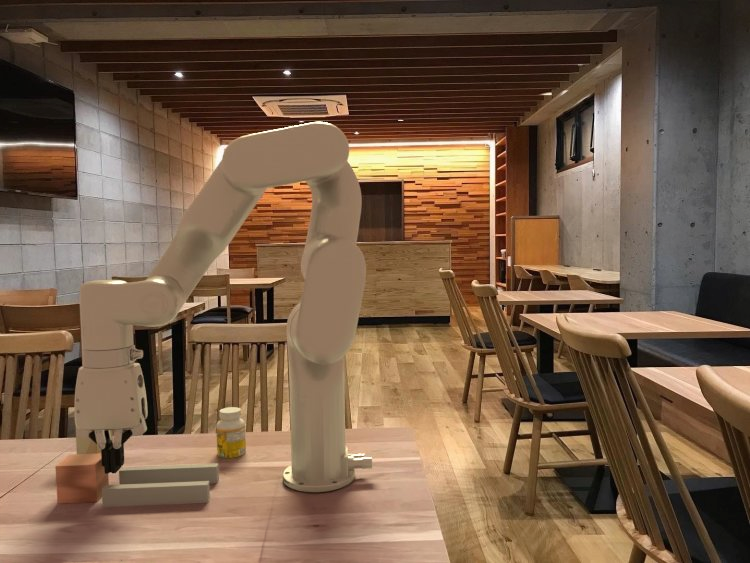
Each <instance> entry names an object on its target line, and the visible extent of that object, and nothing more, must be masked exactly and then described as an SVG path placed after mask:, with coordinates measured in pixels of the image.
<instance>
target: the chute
mask: <svg viewBox="0 0 750 563" xmlns="http://www.w3.org/2000/svg"><path fill="white" fill-rule="evenodd" d="M219 469H220V468H219V463H195V464H193V463H192V464H171V465H169V464H168V465H146V466H144V465H143V466H122V467H121V468H120V469H119V470H118V476H119V477H118V478H119V479H118V480H119V482H118V483H119V484H109V485H105V486H104V487H103V488H102V497H101V499H102V500H101V502H102V508H112V507H113V508H114V507H134V506H135V507H137V506H138V507H139V506H158V505H159V506H161V505H182V504H183V505H184V504H187V505H188V504H205V503H207V504H208V503H209V501H210V499H211V491H210V490H211V489H210V487H211V486H210V484H218V483H219V480H220V473H219Z"/></svg>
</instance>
